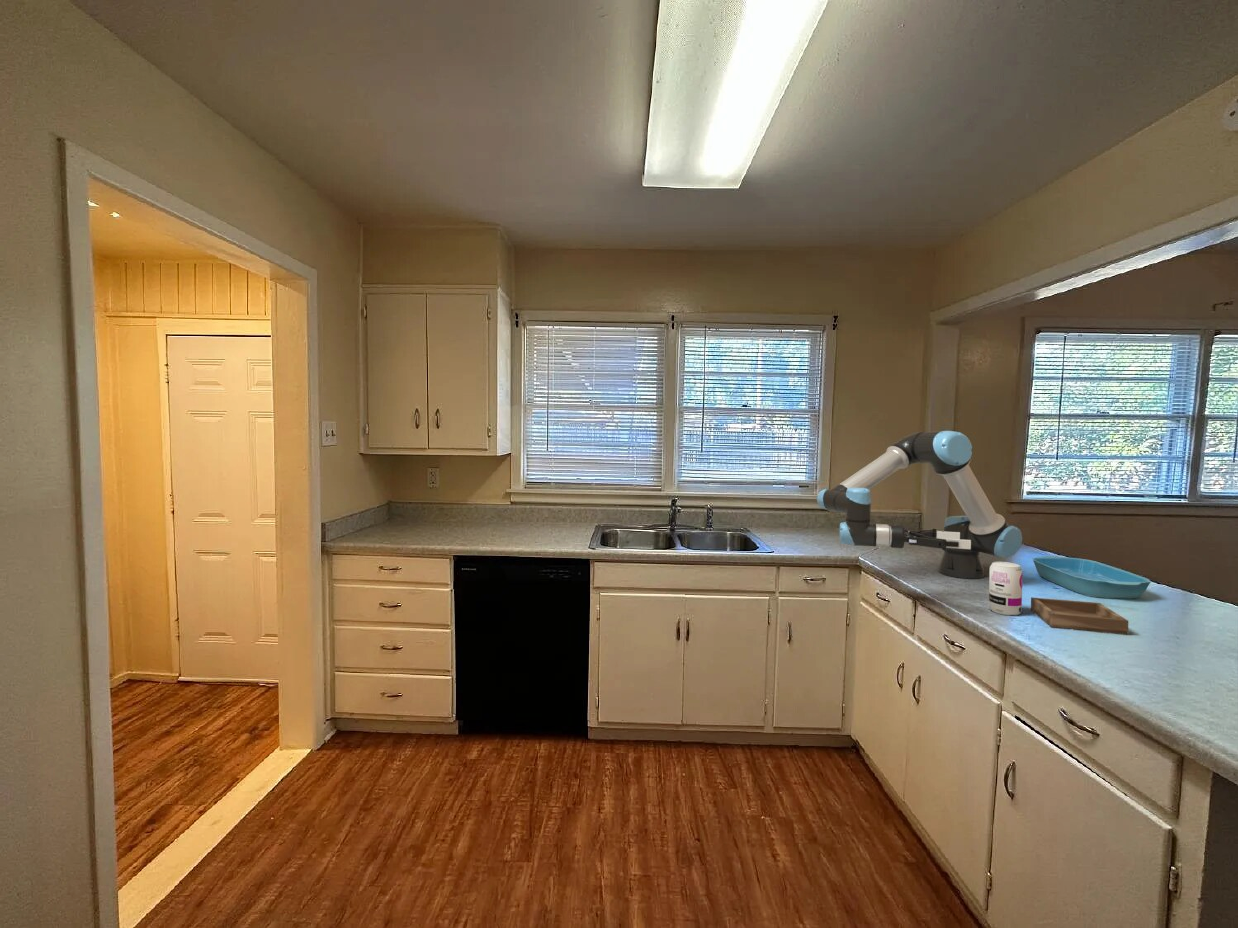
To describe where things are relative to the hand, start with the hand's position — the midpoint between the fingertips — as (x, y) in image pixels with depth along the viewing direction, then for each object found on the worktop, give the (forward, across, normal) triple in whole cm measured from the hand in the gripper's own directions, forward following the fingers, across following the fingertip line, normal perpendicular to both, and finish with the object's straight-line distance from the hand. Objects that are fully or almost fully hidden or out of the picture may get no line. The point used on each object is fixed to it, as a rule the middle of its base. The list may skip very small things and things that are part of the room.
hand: (965, 540), depth 165 cm
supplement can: (+11, 0, -22) cm, 25 cm away
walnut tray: (+28, +3, -22) cm, 35 cm away
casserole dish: (+46, -41, -22) cm, 65 cm away
